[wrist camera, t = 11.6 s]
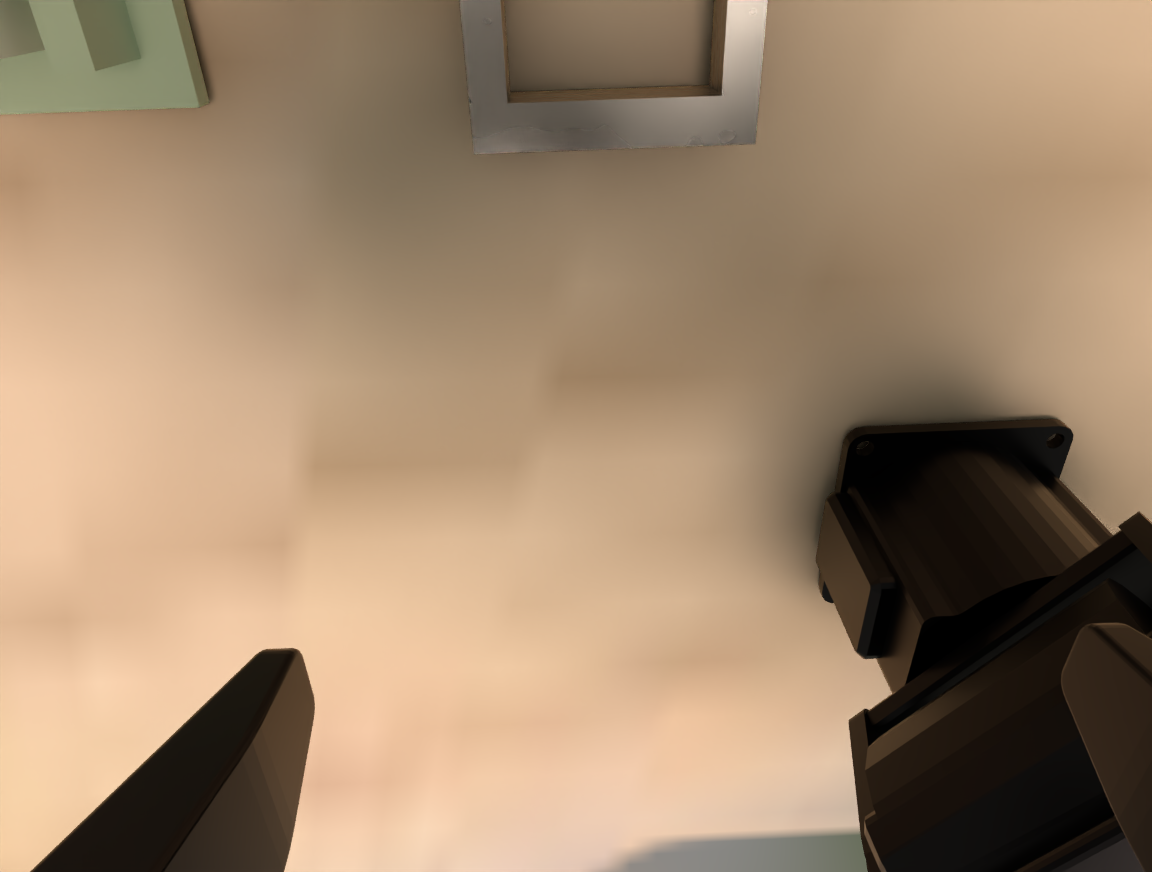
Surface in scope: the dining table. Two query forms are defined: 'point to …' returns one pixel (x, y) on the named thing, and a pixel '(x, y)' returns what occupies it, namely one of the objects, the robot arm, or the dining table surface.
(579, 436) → the dining table surface
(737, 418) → the dining table surface
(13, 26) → the long rectangular block
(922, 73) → the dining table surface
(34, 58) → the holder
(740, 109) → the frame
